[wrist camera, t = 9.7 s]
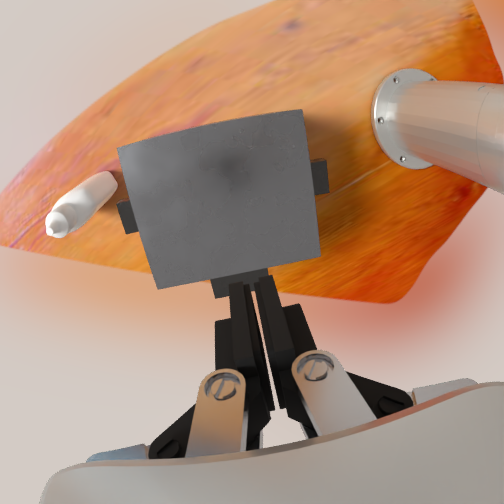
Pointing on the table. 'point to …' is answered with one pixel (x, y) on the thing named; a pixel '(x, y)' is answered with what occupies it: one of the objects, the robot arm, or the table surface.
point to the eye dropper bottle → (80, 204)
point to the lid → (224, 200)
